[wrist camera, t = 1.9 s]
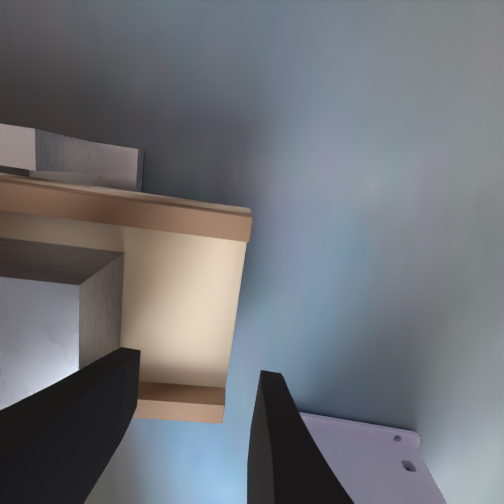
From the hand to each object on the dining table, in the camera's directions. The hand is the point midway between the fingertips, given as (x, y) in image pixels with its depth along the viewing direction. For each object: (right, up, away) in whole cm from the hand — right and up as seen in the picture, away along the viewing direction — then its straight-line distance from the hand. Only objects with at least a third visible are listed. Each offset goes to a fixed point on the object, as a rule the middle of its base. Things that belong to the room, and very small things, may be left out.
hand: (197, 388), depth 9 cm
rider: (-7, +2, +4) cm, 9 cm away
